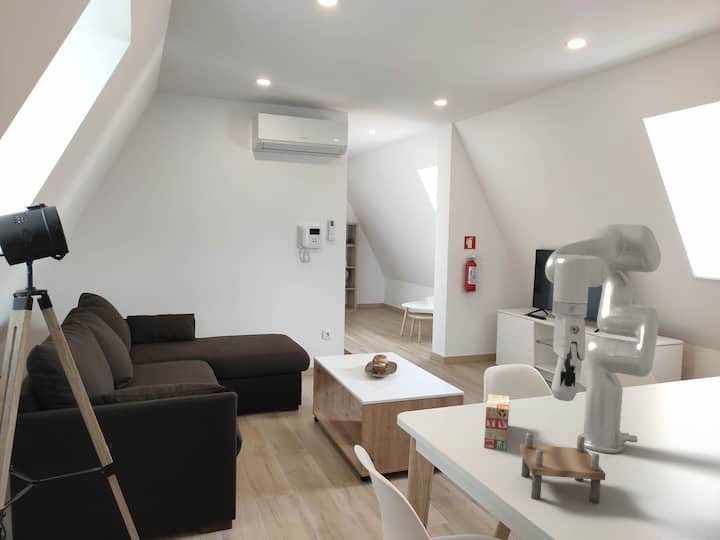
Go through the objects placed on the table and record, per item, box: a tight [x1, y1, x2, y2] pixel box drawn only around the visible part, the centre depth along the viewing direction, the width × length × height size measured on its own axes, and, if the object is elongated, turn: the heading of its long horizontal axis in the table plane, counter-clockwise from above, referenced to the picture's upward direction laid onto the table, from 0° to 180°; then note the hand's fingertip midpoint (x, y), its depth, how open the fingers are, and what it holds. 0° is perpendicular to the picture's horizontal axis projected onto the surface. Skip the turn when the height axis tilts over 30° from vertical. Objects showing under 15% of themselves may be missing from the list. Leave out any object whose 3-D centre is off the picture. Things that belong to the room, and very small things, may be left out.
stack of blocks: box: [483, 393, 510, 452], centre depth 160 cm, size 21×6×12 cm, turn 164°
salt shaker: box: [550, 351, 578, 402], centre depth 126 cm, size 6×6×13 cm
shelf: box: [519, 432, 607, 505], centre depth 127 cm, size 16×14×11 cm
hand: (564, 385), depth 126 cm, fingers closed on salt shaker, 3 cm apart
